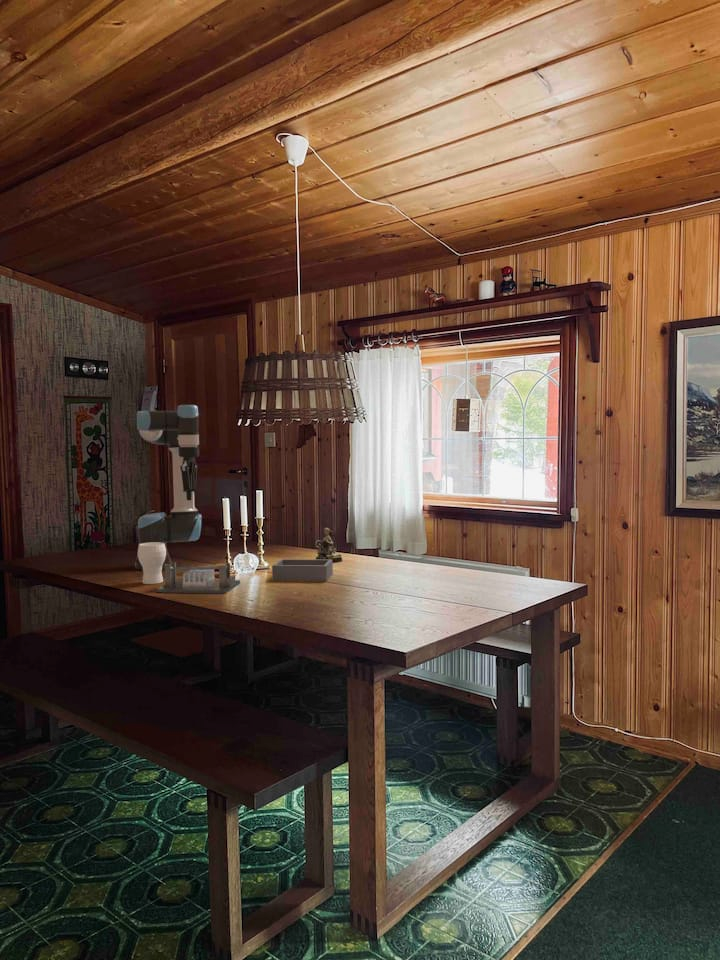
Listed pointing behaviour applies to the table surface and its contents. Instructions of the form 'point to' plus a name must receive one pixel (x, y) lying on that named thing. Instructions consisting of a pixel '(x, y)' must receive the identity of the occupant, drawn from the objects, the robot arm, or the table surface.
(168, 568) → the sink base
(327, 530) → the figurine
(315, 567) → the tray
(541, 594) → the table surface
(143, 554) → the cup
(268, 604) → the table surface
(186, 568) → the strap
